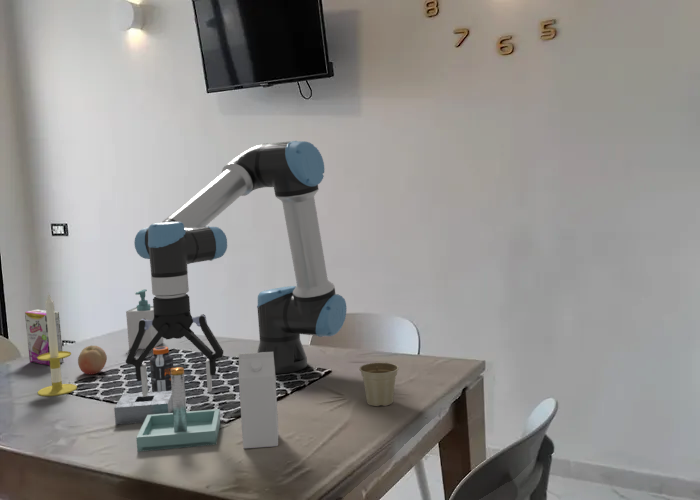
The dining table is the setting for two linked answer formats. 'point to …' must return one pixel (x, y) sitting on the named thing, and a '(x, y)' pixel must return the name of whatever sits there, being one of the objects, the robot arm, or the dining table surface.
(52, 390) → the candle
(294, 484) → the dining table surface
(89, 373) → the fruit
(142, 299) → the soap bottle
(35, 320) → the candy bar box
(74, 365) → the dining table surface
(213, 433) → the tray
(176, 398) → the pin
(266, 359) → the milk carton
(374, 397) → the flower pot
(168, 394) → the block
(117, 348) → the dining table surface
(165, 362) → the pill bottle
